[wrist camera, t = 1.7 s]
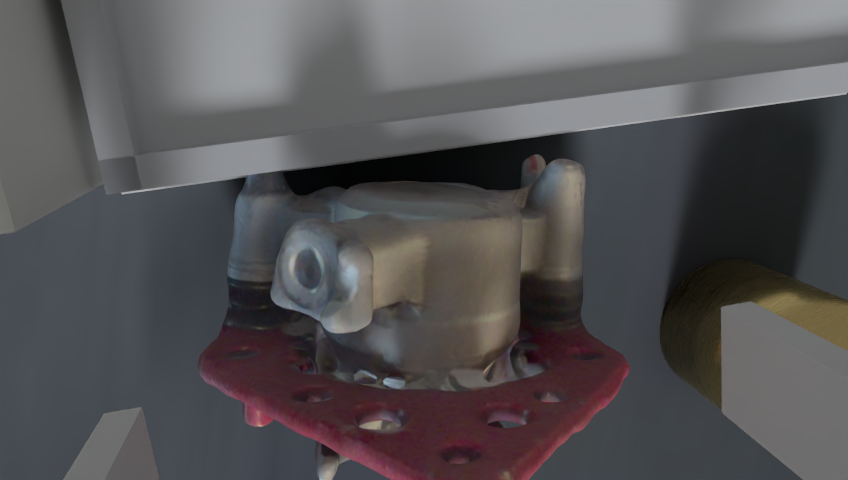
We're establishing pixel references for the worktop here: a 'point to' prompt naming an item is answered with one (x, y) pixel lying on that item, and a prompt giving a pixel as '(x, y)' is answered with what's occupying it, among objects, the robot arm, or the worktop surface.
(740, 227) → the worktop surface
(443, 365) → the brake caliper
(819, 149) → the worktop surface
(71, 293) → the worktop surface
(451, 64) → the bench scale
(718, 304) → the brass spacer
